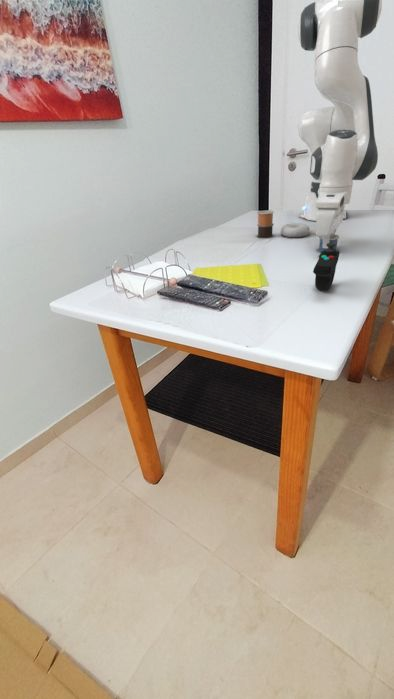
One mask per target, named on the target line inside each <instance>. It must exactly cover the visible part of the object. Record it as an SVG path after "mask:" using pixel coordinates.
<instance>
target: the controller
mask: <svg viewBox="0 0 394 699" xmlns="http://www.w3.org/2000/svg"><path fill="white" fill-rule="evenodd" d="M326 246H327V247H328V248H327V249H326V250H324V251H322V252H320V254H319V255H318V259H317V261H316V263H315V265H314V268H313V270H312V273H313V274H314V275H315V277H314V283H315V284H314V286H315V288H316V289H317V290H318V291H330V290H331V289H332V286H333V284H334V283H333V282H334V278H335V275H336V270H337V264H338V261H339V257H340V253H341V252H340V251H338V250H337V249H336V250H335V249H334V248H333V247H335V246H336V244H335V243H327V244H326Z"/></svg>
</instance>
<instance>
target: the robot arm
mask: <svg viewBox="0 0 394 699" xmlns="http://www.w3.org/2000/svg"><path fill="white" fill-rule="evenodd" d="M382 9H383V0H319V1H318V2H316V1H314V2H311V3H310V4H308V5H307V6H305V7H304V8H303V9H302V11H301V13H300V18H299V20H298V26H297V37H298V41H299V43H300V47H301V49H302V50H304V51H306V52H314V51H315V52H314V66H313V67H314V68H313V69H314V73H313V74H314V75H313V76H314V84H315V87H316V89H317V90H318V92H319V94H320V95H321V97H322V98H323V99H325V100H327V101H330V102H331V103H332V105H333V106H324V107H317V108H313V109H311V110H307V111H306V112H304V113H303V114H302V116H301V117H300V119H299V121H298V126H297V132H298V136H299V138H300V139H301V140H302V142H304V143H305V144H306V145H307V147H308V149H309V150H310V153H311V156H310V168H309V175H310V176H311V177H312V181H311V183H310V193H309V194H308V195H307V196H306V198H305V205H304V206H302V208H301V209H302V211H303V210H304V211H303V213H301V214H300V216H299V217H300V218H302V219H306V220H308V221H315V222H316V223H315V224H316V225H315V233H316V237H318V238H319V237H322V241H323V244H322V248H328V247H327V246H326V244H327V243H330V236H331V234H335V235H336V233H337V228H338V227H339V226H340V225H341V224H342V223H343V221H344V219H347V210H346V209H345V205H348V204H350V203H351V197H352V191H353V185H354V182H353V181H364V180H365V179H366V178H368V177H369V176H371V174H372V173H373V172H374V171H375V170H376V168H377V165H378V158H379V155H378V154H379V152H378V146H377V142H376V137H375V127H374V112H373V103H372V102H373V101H372V92H371V91H372V90H371V85H370V81H369V78H368V77H367V76H365V75H364V74H363V72H362V70H361V68H360V65H359V61H358V59H359V58H358V50H359V39H363V38H364V37H365V38H366V36H368V35H370V34H371V33H372V32H373V31H374V30H375V29H376V27H377V24H378V22H379V20H380V17H381V13H382Z"/></svg>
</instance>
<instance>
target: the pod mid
mask: <svg viewBox="0 0 394 699" xmlns="http://www.w3.org/2000/svg"><path fill="white" fill-rule="evenodd" d="M274 213H275V210H270V209H269V210H268V209H267V210H266V209H265V210H259V211H257V225H260V226H269V225H272V223H273V219H274Z"/></svg>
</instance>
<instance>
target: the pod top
mask: <svg viewBox="0 0 394 699" xmlns="http://www.w3.org/2000/svg"><path fill="white" fill-rule="evenodd" d="M318 238H319V244H318V252H320V253H321V252H322V251H324V250H326V249H327V248H322V244H323V241H322V237H318ZM339 239H340V235H338V234H336V233H335V234H331V236H330V243H335V244H336V246H335V247H333V248H334V249H335V250H336V251H337V249H338V243H339V242H338V241H339Z"/></svg>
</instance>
